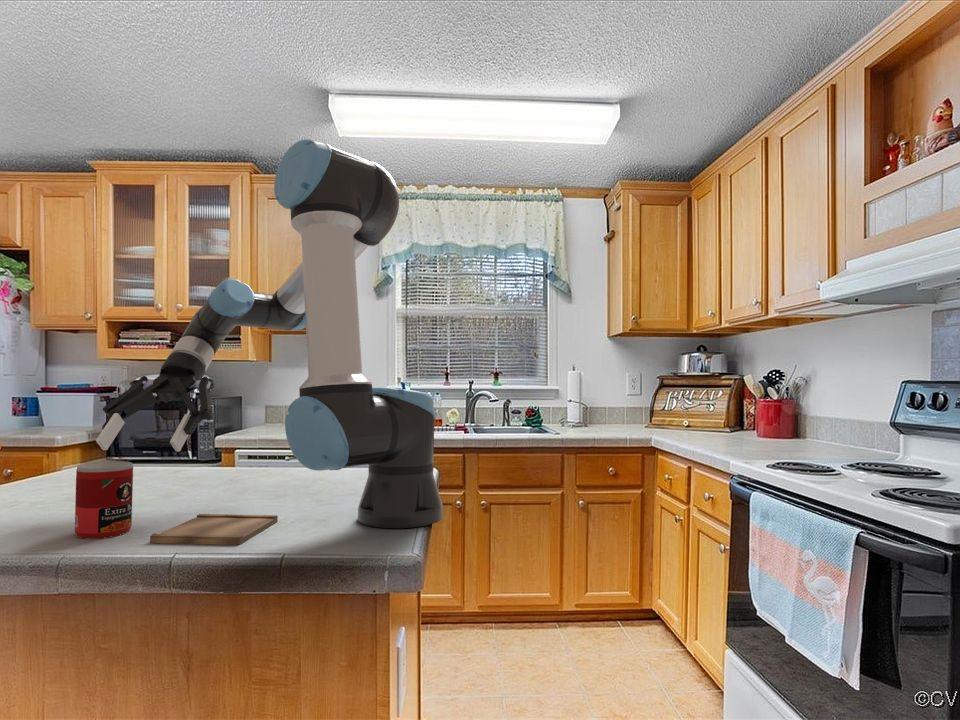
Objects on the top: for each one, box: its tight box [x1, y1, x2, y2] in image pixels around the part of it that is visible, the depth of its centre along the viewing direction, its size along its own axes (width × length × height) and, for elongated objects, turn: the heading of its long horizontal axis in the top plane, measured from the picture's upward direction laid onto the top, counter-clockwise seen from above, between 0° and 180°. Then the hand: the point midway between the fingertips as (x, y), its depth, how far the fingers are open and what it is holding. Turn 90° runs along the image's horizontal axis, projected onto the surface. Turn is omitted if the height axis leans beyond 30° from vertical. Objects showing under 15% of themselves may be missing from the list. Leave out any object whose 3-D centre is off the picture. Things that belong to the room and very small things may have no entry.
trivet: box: [149, 513, 279, 546], centre depth 94 cm, size 14×14×1 cm
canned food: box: [74, 460, 134, 540], centre depth 93 cm, size 8×8×11 cm
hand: (137, 446), depth 102 cm, fingers open, 13 cm apart
